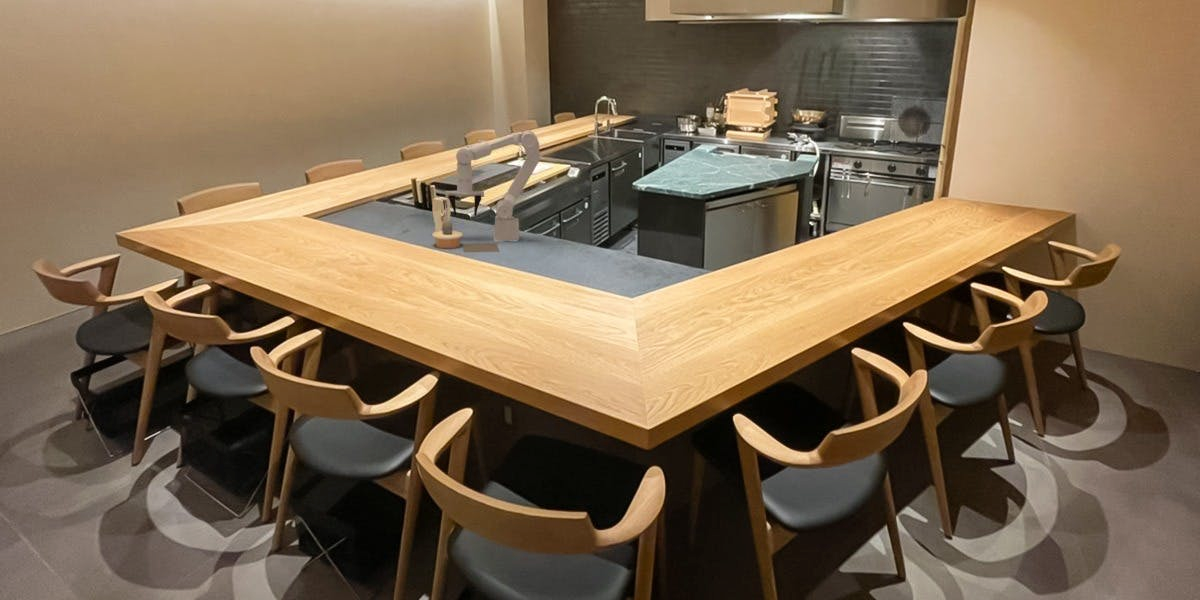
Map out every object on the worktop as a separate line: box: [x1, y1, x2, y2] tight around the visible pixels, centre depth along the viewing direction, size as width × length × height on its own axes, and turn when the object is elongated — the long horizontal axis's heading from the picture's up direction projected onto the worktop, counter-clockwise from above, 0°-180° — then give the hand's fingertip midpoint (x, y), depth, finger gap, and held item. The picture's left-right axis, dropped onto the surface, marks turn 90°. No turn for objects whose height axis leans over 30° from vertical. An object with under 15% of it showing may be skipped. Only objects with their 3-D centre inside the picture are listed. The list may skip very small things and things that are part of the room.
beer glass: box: [431, 196, 451, 232], centre depth 267 cm, size 7×7×15 cm
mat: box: [462, 242, 500, 253], centre depth 252 cm, size 13×13×1 cm
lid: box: [431, 221, 463, 239], centre depth 251 cm, size 11×11×5 cm
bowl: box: [435, 238, 461, 249], centre depth 252 cm, size 9×9×4 cm
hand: (465, 215), depth 261 cm, fingers open, 7 cm apart
